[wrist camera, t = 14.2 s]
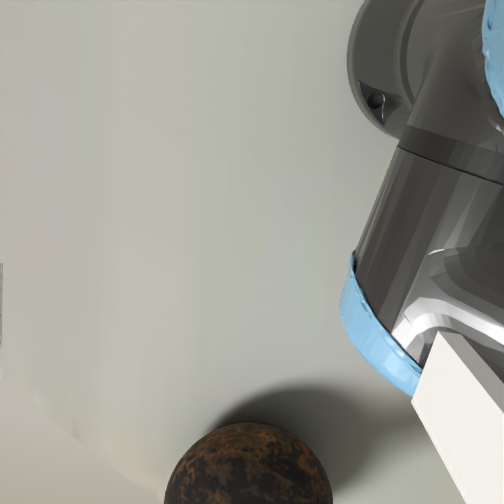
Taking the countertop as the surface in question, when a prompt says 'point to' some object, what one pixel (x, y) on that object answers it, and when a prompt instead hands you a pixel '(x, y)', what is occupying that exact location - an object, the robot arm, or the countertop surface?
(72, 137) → the countertop surface
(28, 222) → the countertop surface
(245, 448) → the glass bottle
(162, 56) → the countertop surface
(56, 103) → the countertop surface
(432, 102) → the robot arm
